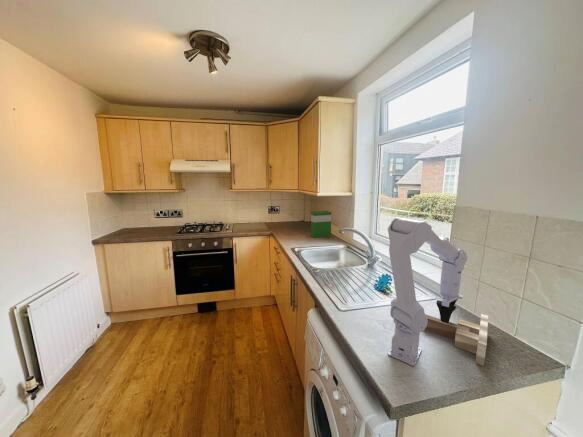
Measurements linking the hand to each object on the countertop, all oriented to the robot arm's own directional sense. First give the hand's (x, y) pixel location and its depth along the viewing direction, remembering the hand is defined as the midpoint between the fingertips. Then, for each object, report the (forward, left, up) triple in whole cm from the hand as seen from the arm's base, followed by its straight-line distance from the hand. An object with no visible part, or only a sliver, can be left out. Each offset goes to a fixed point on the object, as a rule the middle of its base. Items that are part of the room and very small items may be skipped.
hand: (446, 317), depth 87 cm
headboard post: (0, -8, -7) cm, 10 cm away
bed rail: (0, 0, -7) cm, 7 cm away
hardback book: (+99, +116, -7) cm, 153 cm away
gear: (+23, +30, -7) cm, 38 cm away
